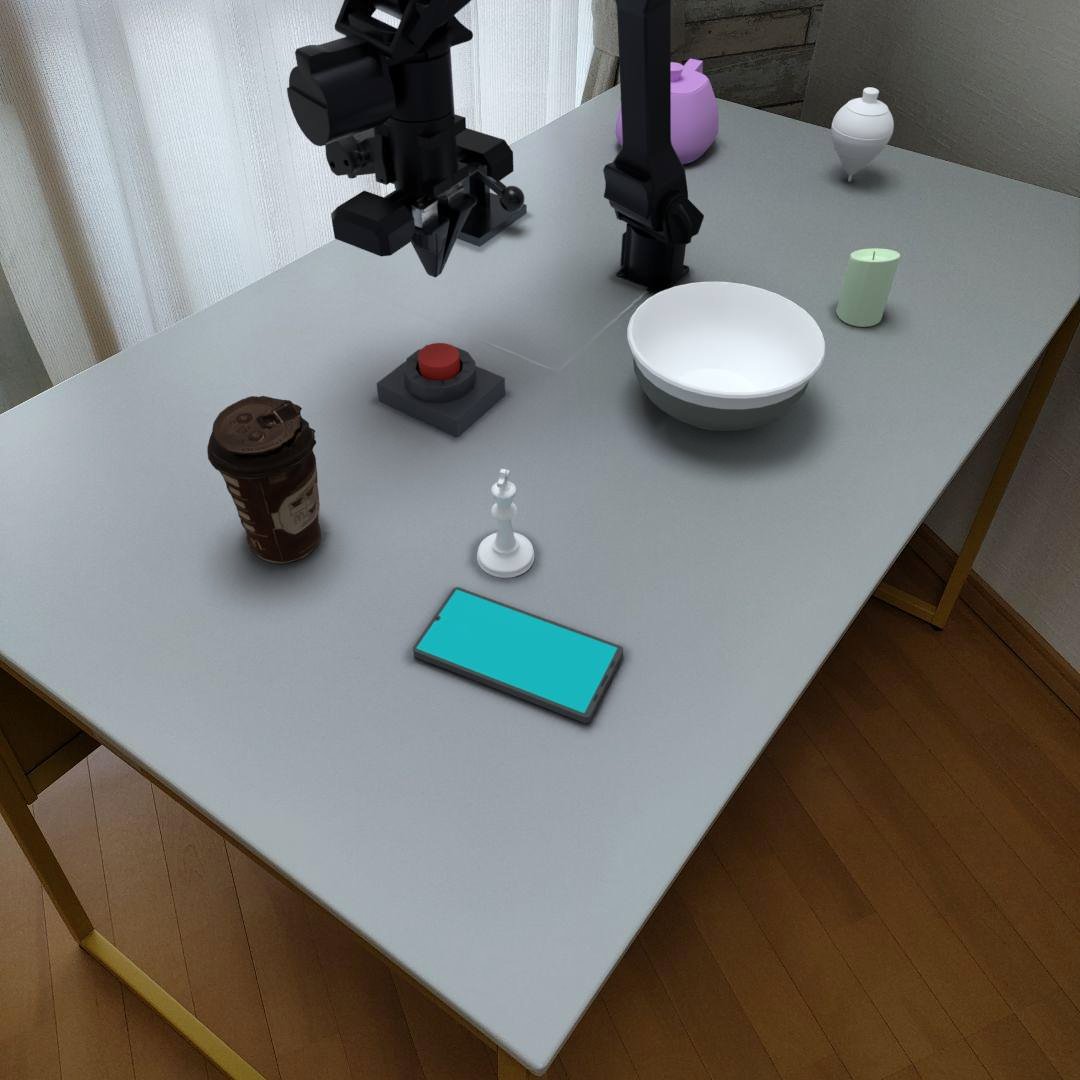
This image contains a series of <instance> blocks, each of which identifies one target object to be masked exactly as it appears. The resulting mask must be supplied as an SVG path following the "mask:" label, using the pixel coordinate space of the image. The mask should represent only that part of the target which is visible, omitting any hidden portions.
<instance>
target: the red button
mask: <svg viewBox="0 0 1080 1080" xmlns="http://www.w3.org/2000/svg"><path fill="white" fill-rule="evenodd" d="M426 345H427V346H426ZM426 345H424V346H425V347H424V346H423V347H422V348H420V349H421V350H420V351H419V353H418V362H419V371H420V374H421V375H422V376H423V377H424V378H427V379H429V380H446V379H449V378H453V377H455V376H456V375H457V374H458V373H459V371H460V359H459V352H458V350H457V349H456V348H455V347H456V346H455V347H454V345H452V344H450V343H445V342H434V343H429V344H426Z"/></svg>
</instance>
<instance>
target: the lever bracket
mask: <svg viewBox="0 0 1080 1080" xmlns="http://www.w3.org/2000/svg"><path fill="white" fill-rule="evenodd" d="M481 166H482V167H484V168H485V169H486V166H485V165H481ZM461 186H464V193H466V194H469V195H472V196H475V197H476V198H477V203H476V205H475V206H473V207H472V209H471V211H470V213H469V215H468V217H467V219H466V221H465V223H464V225H463V227H462V229H461V231H460V233H459V235H458V237H457V239H458V240H461V241H462V242H466V243H468V244H470V245H473V246H476V247H479V248H480V247H482V246H483V245H484V244H486V243H487V242H489V241H490V240H491V239H493V238H494V237H495V236H497V235H498V234H500V233H501V232H502V231H503V230H505V229H506V228H508V227H509V226H510V225H512V224H513V223H514V222H516V221H517V220H519V219H520V218H521V217H523V216H525V215H526V214H527V212H528V209H527V207H528V205H527V204H525V203H524V204H523V206H522V208H521V209H520V210H518V211H516V212H508V211H506V210H505V209H503V207H502V206H501V204H500V199H499V198H500V196H498V195H497V194H496V193H493V192H491V189H490V188H489V187H488V186H486V185H485V184H484V183H483V182H482V181H480V180H479V179H478V178H477V177H476V176H474V175H471V176H470V177H468V178H467V179H465V180H464V181H462V185H461ZM457 239H456V240H457Z"/></svg>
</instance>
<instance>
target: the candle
mask: <svg viewBox="0 0 1080 1080" xmlns="http://www.w3.org/2000/svg"><path fill="white" fill-rule="evenodd" d="M900 258H901V254H900V253H899V252H898V251H896V250H894V249H893V250H892V249H887V248H877V247H876V248H863V249H857V250H855V251H853V252H851V253H850V255H849V259H848V263H847V267H846V269H845V273H844V278H843V282H842V286H841V290H840V294H839V298H838V302H837V305H836V309H835V313H836V315H837V317H838V318H839V320H840V321H842V322H843V323H846V324H847V325H850V326H853V327H858V328H868V327H873V326H876V325H877V324H879V323H881V320H882V318H883V315H884V312H885V308H886V305H887V302H888V299H889V295H890V291H891V289H892V286H893V281H894V278H895V275H896V272H897V269H898V265H899V261H900Z"/></svg>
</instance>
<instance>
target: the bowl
mask: <svg viewBox="0 0 1080 1080" xmlns="http://www.w3.org/2000/svg"><path fill="white" fill-rule="evenodd" d="M626 329H627V330H626V335H627V342H628V345H629V348H630V350H631V353H632V357H633V358H632V359H633V360H632V361H633V371H634V374H635V376H636V379H637V382H638V383H639V385H640V386H641V388H642V390H643V392H644V394H645V395H646V396H647V397H648V398H649V400H650V401H651V402H652V403H653V405H655V406H656V407H657V408H659V409H660V410H661V411H662V412H664V413H665V414H668V415H669V416H671V417H672V418H674V419H675V420H677V421H679V422H682V423H684V424H686V425H689V426H692V427H695V428H700V429H702V430H710V431H716V432H717V431H718V432H723V431H724V432H732V431H742V430H748V429H752V428H755V427H759V426H764V425H766V424H768V423H770V422H773V421H775V420H777V419H779V418H780V417H782V416H783V415H784V414H786V413H787V412H788V411H789V410H791V408H793V407H794V406H795V405H797V403H798V402H799V401H800V399H801V398H802V397H803V396H804V395H805V393H806V391H807V389H808V386H809V384H810V380H811V379H812V377H814V375H815V373H817V371H818V370H819V369H820V368H821V367H822V364H823V362H824V359H825V357H826V342H825V337H824V334H823V332H822V329H821V328H820V327H819V325H818V323H817V321H816V319H814V318H813V317H812V316H811V315H810V314H809V313H808V312H807V311H806V310H805V309H804V308H803V307H801V306H799V305H798V304H796V303H795V302H794V301H793V300H790V299H788V298H786V297H784V296H782V295H780V294H778V293H775V292H773V291H770V290H767V289H765V288H762V287H758V286H753V285H750V284H745V283H739V282H738V283H737V282H730V281H699V282H690V283H685V284H680V285H674V286H673V287H671V288H669V289H667V290H664V291H661V292H659V293H655V294H654V295H652V296H649V297H648V298H647V299H646V300H644V301H643V303H641V304H640V305H639V306H638V307H637V308H636V310H635V311H634V312H633V314H632V315H631V317H630V319H629V321H628V325H627V328H626Z"/></svg>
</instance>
